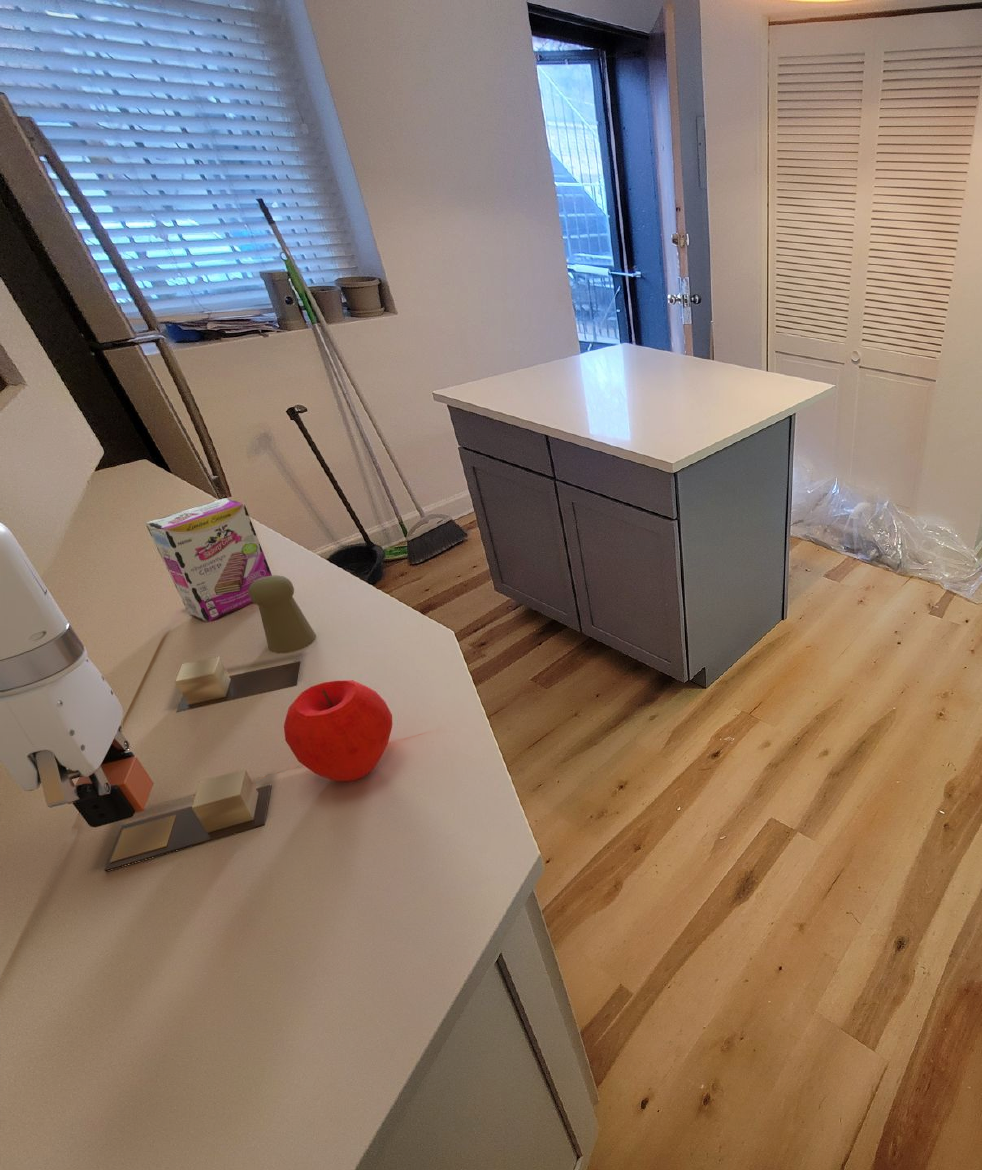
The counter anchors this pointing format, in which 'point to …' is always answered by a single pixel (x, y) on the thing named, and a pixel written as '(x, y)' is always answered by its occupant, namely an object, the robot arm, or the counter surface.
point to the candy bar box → (211, 556)
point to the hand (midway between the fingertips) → (120, 801)
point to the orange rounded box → (127, 780)
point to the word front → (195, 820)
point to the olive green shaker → (281, 614)
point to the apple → (338, 729)
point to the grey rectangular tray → (229, 682)
